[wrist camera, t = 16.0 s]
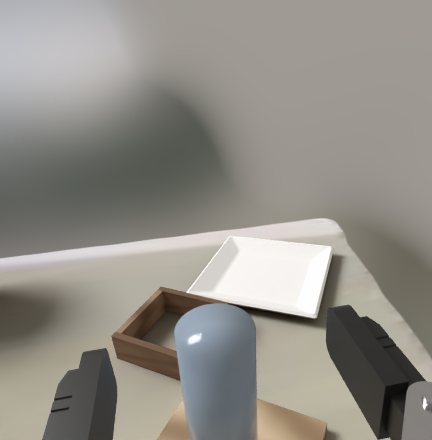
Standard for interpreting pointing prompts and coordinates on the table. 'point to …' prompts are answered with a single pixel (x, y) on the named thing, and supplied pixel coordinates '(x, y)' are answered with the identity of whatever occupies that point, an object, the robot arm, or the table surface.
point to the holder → (142, 322)
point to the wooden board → (260, 424)
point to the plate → (267, 275)
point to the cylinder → (218, 372)
